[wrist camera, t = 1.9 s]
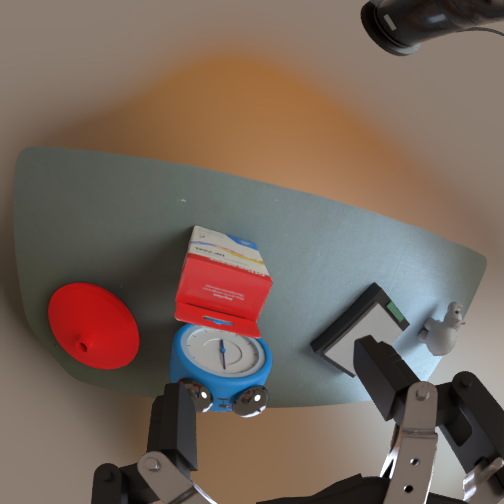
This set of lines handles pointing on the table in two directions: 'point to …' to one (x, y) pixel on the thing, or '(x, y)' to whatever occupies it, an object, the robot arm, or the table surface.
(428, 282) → the table surface
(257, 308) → the ink box
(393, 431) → the robot arm
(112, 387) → the table surface
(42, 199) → the table surface
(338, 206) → the table surface
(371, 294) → the scale
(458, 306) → the round bodied animal figurine
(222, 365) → the alarm clock
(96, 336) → the flat cone with hole
